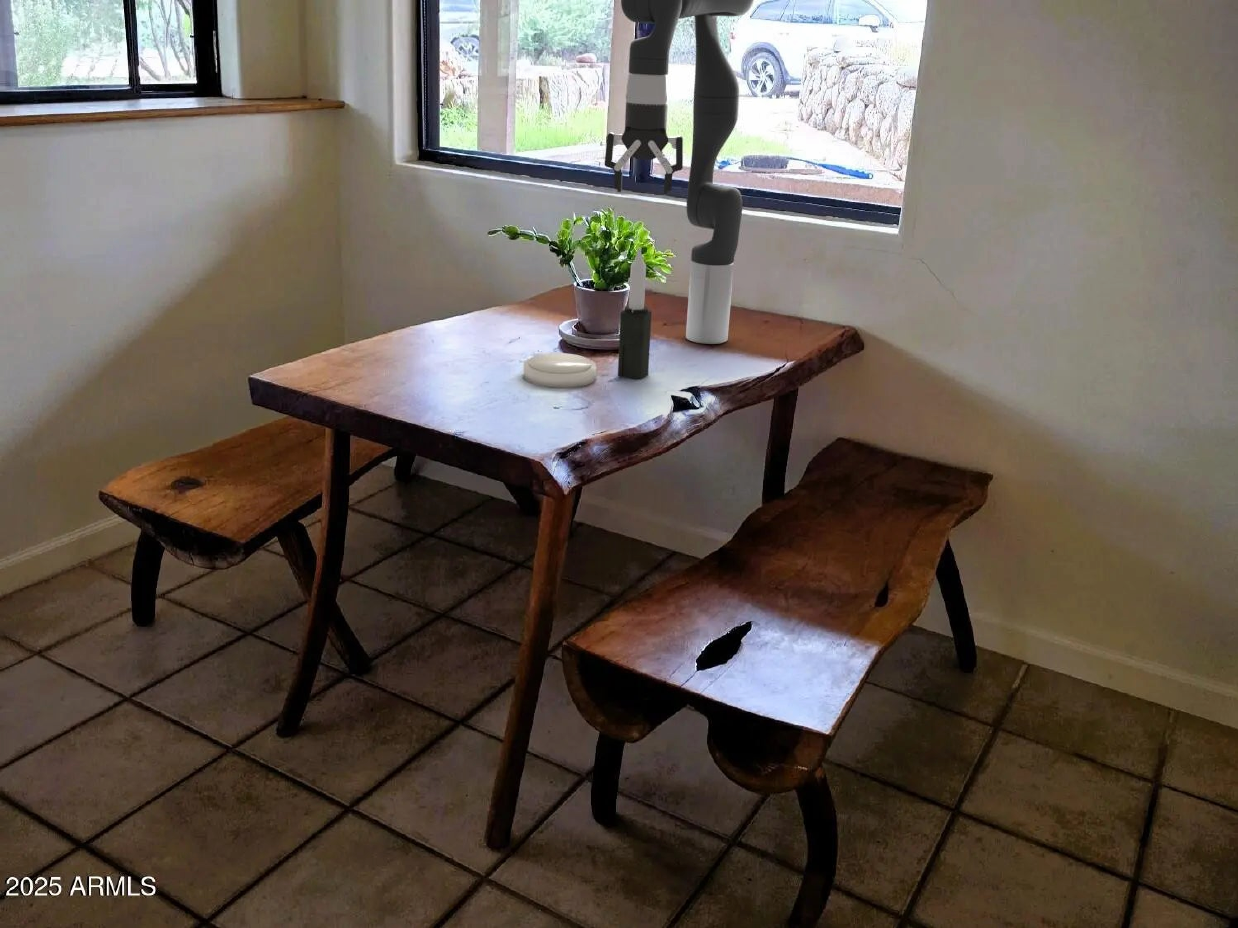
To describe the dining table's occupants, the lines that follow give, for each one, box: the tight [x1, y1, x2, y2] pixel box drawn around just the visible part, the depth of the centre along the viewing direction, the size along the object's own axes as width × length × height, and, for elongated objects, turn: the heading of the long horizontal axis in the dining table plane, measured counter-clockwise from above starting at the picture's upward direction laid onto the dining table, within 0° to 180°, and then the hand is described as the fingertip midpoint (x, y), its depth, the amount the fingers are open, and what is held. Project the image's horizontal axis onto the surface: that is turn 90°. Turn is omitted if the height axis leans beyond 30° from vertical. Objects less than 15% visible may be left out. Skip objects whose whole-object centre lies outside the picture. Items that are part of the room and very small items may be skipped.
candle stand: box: [523, 352, 597, 389], centre depth 217 cm, size 14×14×3 cm
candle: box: [617, 246, 653, 380], centre depth 216 cm, size 5×5×25 cm
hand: (642, 192), depth 208 cm, fingers open, 8 cm apart
